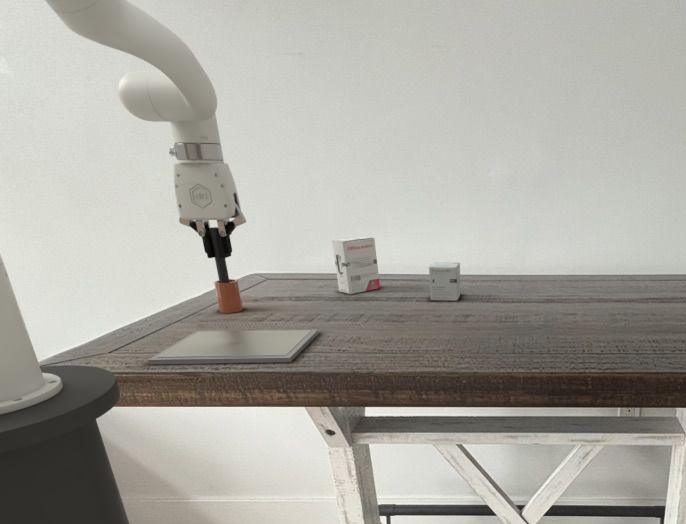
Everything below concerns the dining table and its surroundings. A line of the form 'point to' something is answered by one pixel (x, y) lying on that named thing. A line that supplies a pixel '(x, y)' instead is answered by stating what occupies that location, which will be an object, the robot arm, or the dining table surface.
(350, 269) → the ink box
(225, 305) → the pen cup
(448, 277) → the product carton
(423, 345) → the dining table surface
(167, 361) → the tablet
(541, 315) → the dining table surface
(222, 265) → the stylus
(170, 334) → the dining table surface
